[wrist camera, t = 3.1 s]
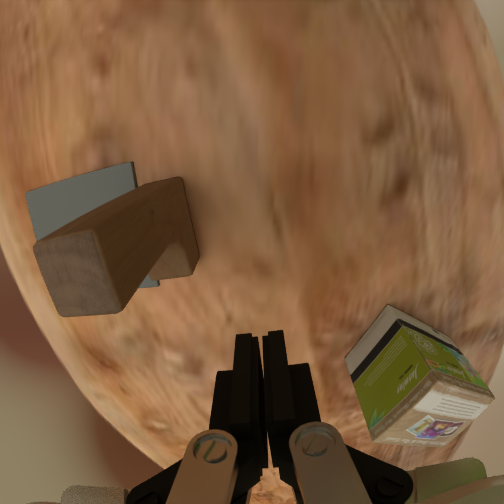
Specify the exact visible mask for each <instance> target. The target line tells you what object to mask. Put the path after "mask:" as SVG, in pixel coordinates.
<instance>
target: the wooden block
mask: <svg viewBox="0 0 504 504" xmlns="http://www.w3.org/2000/svg"><path fill="white" fill-rule="evenodd" d="M33 252H34V254H35V257H36V260H37V263H38V266H39V268H40V271H41V274H42V276H43V279H44V281H45V284H46V286H47V289H48V291H49V293H50V296H51V298H52V300H53V303H54V305H55V307H56V309H57V312H58V313H59V315H60V316H62V317H75V316H91V315H105V314H116V313H119V312H121V311H122V310H123V309H124V308H125V306H126V305H127V303H128V302H129V300H130V299H131V298H132V296H133V295H134V293H135V292H136V290H137V289H138V287H139V286H140V285H141V283H142V282H143V280H144V279H145V277H146V276H147V275H149V277H150V279H151V280H152V281H155V280H163V279H171V278H178V277H185V276H191V275H192V274H193V272H194V270H195V267H196V265H197V263H198V260H199V252H198V248H197V244H196V239H195V235H194V231H193V226H192V222H191V217H190V213H189V208H188V204H187V199H186V195H185V190H184V185H183V180H182V178H181V177H174V178H170V179H165V180H161V181H156V182H152V183H148V184H144V185H142V186H140V187H138V188H135V189H133V190H131V191H129V192H127V193H125V194H123V195H121V196H119V197H117V198H115V199H113V200H111V201H109V202H107V203H105V204H103V205H101V206H99V207H97V208H95V209H93V210H91V211H89V212H87V213H86V214H84V215H82V216H80V217H78V218H76V219H75V220H73V221H71V222H69V223H67V224H66V225H64V226H62V227H60V228H59V229H57V230H55V231H53V232H52V233H50V234H48V235H47V236H45V237H43V238H42V239H40V240H38V241H37V242H36V243H35V244H34V246H33Z"/></svg>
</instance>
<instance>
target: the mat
mask: <svg viewBox="0 0 504 504" xmlns="http://www.w3.org/2000/svg"><path fill="white" fill-rule="evenodd" d="M135 188H137V183H136V177H135V171H134V166H133V162H129V163H124V164H120V165H116V166H112V167H108V168H104V169H101V170H97V171H93V172H89V173H86V174H82V175H79V176H76V177H72V178H69V179H66V180H62V181H59V182H56V183H53V184H50V185H47V186H44V187H41V188H38V189H35V190H32V191H29V192H26V193H25V195H26V200H27V204H28V209H29V213H30V217H31V221H32V225H33V229H34V232H35V236H36V239H37V241H38V240H40V239H42V238H43V237H45V236H47V235H48V234H50V233H52V232H53V231H55V230H57V229H59V228H60V227H62V226H64V225H66V224H67V223H69V222H71V221H73V220H75V219H76V218H78V217H80V216H82V215H84V214H86V213H87V212H89V211H91V210H93V209H95V208H97V207H99V206H101V205H103V204H105V203H107V202H109V201H111V200H113V199H115V198H117V197H119V196H121V195H123V194H125V193H127V192H129V191H131V190H133V189H135ZM159 285H160V283H159V280H155V281H152V280H151V279H150V277H149V275H147V276H146V277H145V279H144V280H143V282H142V283H141V285H140V286H139V287H138V288H148V287H158V286H159Z"/></svg>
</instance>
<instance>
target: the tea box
mask: <svg viewBox="0 0 504 504" xmlns="http://www.w3.org/2000/svg"><path fill="white" fill-rule="evenodd" d="M345 362H346V365H347V368H348V371H349V373H350V376H351V379H352V382H353V385H354V388H355V391H356V394H357V397H358V399H359V402H360V405H361V409H362V411H363V414H364V418H365V420H366V423H367V427H368V430H369V432H370V436H371V439H372V442H375V443H385V444H395V445H407V446H424V447H445V446H446V445H447V444H448V443H450V442H451V441H452V440H453V439H454V438H455V437H456V436H457V435H459V434H460V433H461V432H462V431H463V430H464V429H465V428H466V427H467V426H468V425H469V424H470V423H471V422H472V421H473V420H474V419H475V418H476V417H477V416H479V414H480V413H481V412H482V411H483V410H484V409H485V408H486V407H487V406H488V405H489V404H490V403H491V402H492V401H493V400H494V399H495V397H494V395H493V394H492V392H491V391H490V389H489V388H488V387H487V385H486V384H485V383H484V381H483V380H482V379H481V377H480V376H479V375H478V373H477V372H476V370H475V369H474V368H473V367H472V365H471V364H470V363H469V361H468V360H467V359H466V358H465V356H464V355H463V354H462V353H461V352H460V350H459V349H458V348H457V346H456V345H455V344H454V343H453V341H452V340H451V339H450V338H449V337H447V336H446V335H444V334H443V333H441V332H439V331H437V330H435V329H433V328H432V327H430V326H428V325H426V324H424V323H422V322H420V321H419V320H417V319H415V318H413V317H411V316H409V315H407V314H406V313H404V312H402V311H400V310H398V309H396V308H394V307H392V306H390V305H386V307H385V308H384V309H383V311H382V312H381V313H380V315H379V316H378V317H377V319H376V320H375V321H374V322H373V324H372V325H371V326H370V328H369V329H368V330H367V331H366V333H365V334H364V335H363V336H362V338H361V339H360V340H359V341H358V343H357V344H356V345H355V346H354V347H353V349H352V350H351V351H350V352H349V354H348V355H347V356H346V358H345Z"/></svg>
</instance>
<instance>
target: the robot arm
mask: <svg viewBox="0 0 504 504" xmlns="http://www.w3.org/2000/svg"><path fill="white" fill-rule="evenodd" d="M262 340H263V366H264V377H263V370H262V363H261V356H260V349H259V341H258V337H252V334H251V333H247V334H236V340H235V351H234V363H233V370H227V371H218V372H217V375H216V382H215V388H214V395H213V403H212V410H211V417H210V424H209V430H206V431H203V432H201V433H199V434H197V435H195V436H194V437H193V438H192V439H191V441H190V442H189V444H188V446H187V449H186V451H185V454H184V457H183V459H181V460H179V461H178V462H176V463H175V464H173V465H172V466H170V467H168V468H167V469H165V470H163V471H162V472H160V473H158V474H157V475H155V476H153V477H152V478H150V479H148V480H147V481H145V482H143V483H141V484H139V485H138V486H136V487H135V488H133V489H125V488H124V487H95V486H80V485H77V486H70V487H68V488H67V489H66V490H65V491H64V492H63V494H62V497H61V503H56V502H33V503H28V504H249V502H250V497H251V492H252V487H253V486H254V485H256V484H257V483H258V482H259V481H260V476H262V468H268V443H267V432H268V439H269V445H270V451H271V457H272V463H273V468H275V467H279V474H280V479H281V480H282V481H284V482H285V483H287V484H288V485H290V486H292V491H293V494H294V498H295V501H296V504H504V475H499V476H492V477H487V475H486V470H485V467H484V465H483V463H482V462H481V461H480V460H478V459H476V458H464V459H460V460H455V461H450V462H445V463H440V464H435V465H429V466H422V467H416V468H415V469H414V470H409V471H404V470H403V469H401V468H398V467H396V466H393V465H391V464H388V463H386V462H383V461H381V460H379V459H376V458H374V457H372V456H370V455H367V454H365V453H363V452H361V451H359V450H356V449H354V448H352V447H350V446H348V445H346V444H345V443H344V441H343V439H342V437H341V435H340V433H339V432H338V430H337V429H336V428H335V427H333V426H332V425H330V424H327V423H325V422H321V419H320V414H319V409H318V404H317V400H316V395H315V390H314V386H313V381H312V376H311V372H310V367H309V364H308V363H302V364H294V365H288V361H287V354H286V347H285V340H284V333H283V330H277V331H268V336H262Z"/></svg>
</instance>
